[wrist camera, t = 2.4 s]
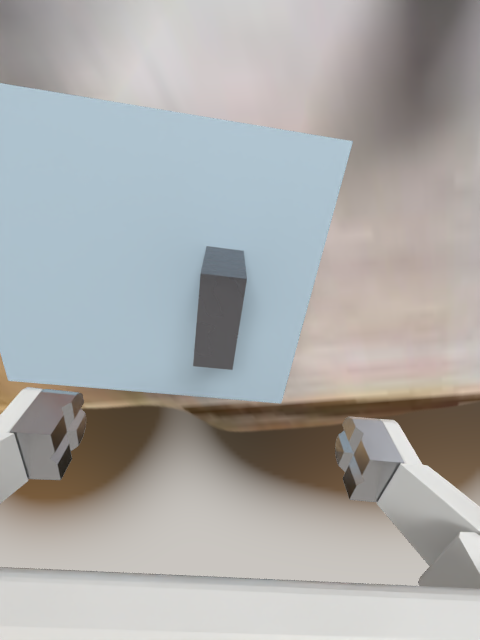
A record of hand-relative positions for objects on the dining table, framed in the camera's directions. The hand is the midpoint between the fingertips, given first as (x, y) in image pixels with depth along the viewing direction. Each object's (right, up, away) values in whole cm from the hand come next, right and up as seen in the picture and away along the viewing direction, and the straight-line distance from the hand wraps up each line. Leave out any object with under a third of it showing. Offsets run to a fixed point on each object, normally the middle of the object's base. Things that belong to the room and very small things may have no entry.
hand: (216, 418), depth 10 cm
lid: (-4, +6, +9) cm, 11 cm away
